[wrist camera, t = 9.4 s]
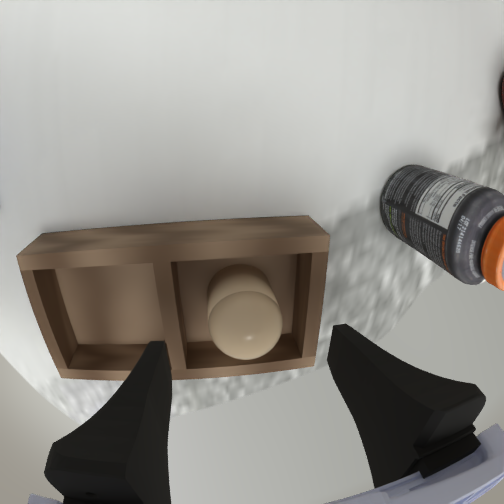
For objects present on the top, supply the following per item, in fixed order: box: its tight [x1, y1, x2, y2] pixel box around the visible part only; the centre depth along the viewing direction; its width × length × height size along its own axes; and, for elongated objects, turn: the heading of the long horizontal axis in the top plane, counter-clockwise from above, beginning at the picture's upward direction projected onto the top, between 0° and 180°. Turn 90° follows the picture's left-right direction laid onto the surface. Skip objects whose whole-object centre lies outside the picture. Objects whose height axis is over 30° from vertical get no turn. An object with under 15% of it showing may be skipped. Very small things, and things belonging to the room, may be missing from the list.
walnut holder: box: [16, 216, 330, 381], centre depth 20 cm, size 19×10×4 cm, turn 90°
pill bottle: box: [381, 165, 504, 291], centre depth 17 cm, size 6×6×11 cm
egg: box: [207, 264, 283, 360], centre depth 19 cm, size 4×4×6 cm
